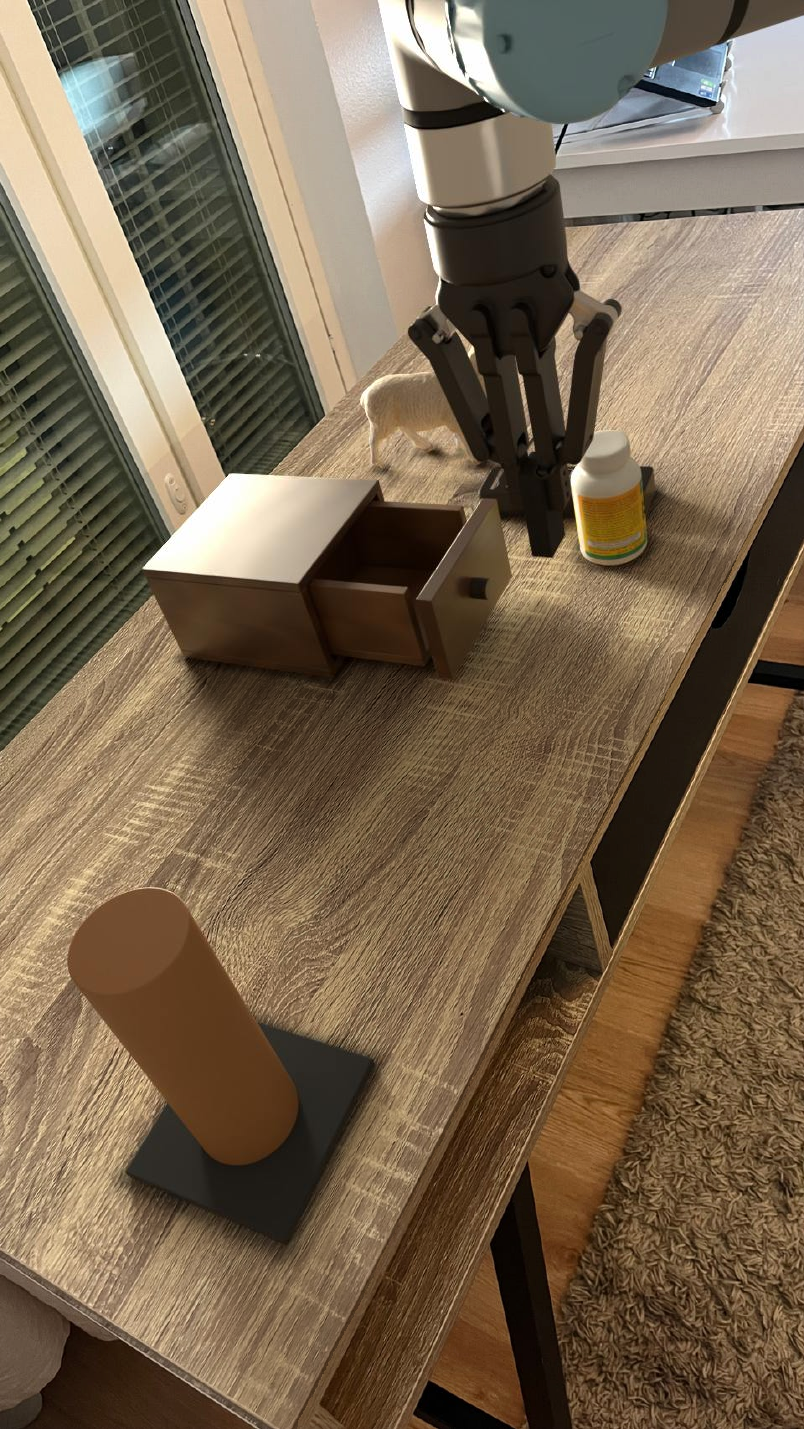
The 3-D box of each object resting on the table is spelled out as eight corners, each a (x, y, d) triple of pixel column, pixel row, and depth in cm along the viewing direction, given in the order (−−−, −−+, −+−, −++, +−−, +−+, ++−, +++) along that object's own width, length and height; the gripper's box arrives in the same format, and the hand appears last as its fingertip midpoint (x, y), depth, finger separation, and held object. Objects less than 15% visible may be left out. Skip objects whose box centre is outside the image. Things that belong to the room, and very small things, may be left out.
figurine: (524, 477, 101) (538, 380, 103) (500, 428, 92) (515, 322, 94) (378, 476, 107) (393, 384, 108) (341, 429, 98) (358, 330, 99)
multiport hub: (644, 518, 89) (642, 495, 87) (481, 515, 95) (476, 493, 93) (656, 489, 91) (654, 465, 90) (496, 487, 97) (492, 465, 96)
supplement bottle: (570, 543, 88) (554, 440, 82) (629, 521, 89) (618, 416, 83) (598, 576, 84) (583, 470, 78) (660, 552, 85) (650, 445, 78)
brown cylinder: (317, 1081, 57) (213, 901, 47) (265, 1180, 54) (141, 1010, 43) (232, 1052, 60) (116, 875, 49) (178, 1145, 56) (41, 976, 46)
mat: (375, 1063, 58) (372, 1058, 58) (287, 1245, 52) (283, 1240, 52) (226, 1015, 62) (222, 1009, 62) (128, 1177, 56) (124, 1172, 56)
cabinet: (405, 571, 91) (379, 479, 85) (332, 678, 83) (298, 584, 77) (263, 559, 98) (230, 473, 92) (183, 657, 90) (141, 569, 84)
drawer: (526, 577, 85) (511, 499, 80) (467, 682, 78) (447, 602, 73) (365, 564, 92) (343, 491, 87) (297, 659, 84) (268, 585, 79)
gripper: (626, 151, 57) (657, 519, 73) (410, 173, 63) (482, 509, 79) (582, 208, 53) (625, 587, 69) (354, 226, 59) (442, 571, 74)
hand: (548, 545), depth 74 cm, fingers closed
